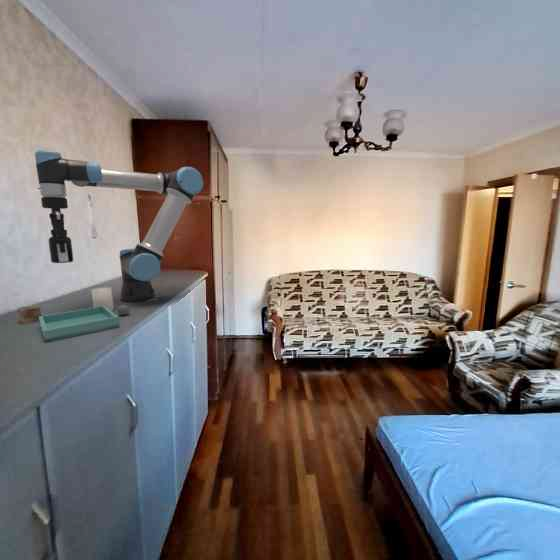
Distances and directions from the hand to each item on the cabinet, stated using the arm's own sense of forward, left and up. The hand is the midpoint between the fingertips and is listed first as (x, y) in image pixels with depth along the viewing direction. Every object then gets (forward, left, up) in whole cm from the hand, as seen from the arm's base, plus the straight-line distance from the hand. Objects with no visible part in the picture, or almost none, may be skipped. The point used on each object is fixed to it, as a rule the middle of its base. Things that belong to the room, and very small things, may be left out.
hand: (62, 260), depth 113 cm
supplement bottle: (0, 0, -1) cm, 1 cm away
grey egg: (-15, +15, -21) cm, 30 cm away
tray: (0, +19, -21) cm, 28 cm away
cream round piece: (-11, +2, -21) cm, 24 cm away
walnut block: (+12, -1, -21) cm, 24 cm away
